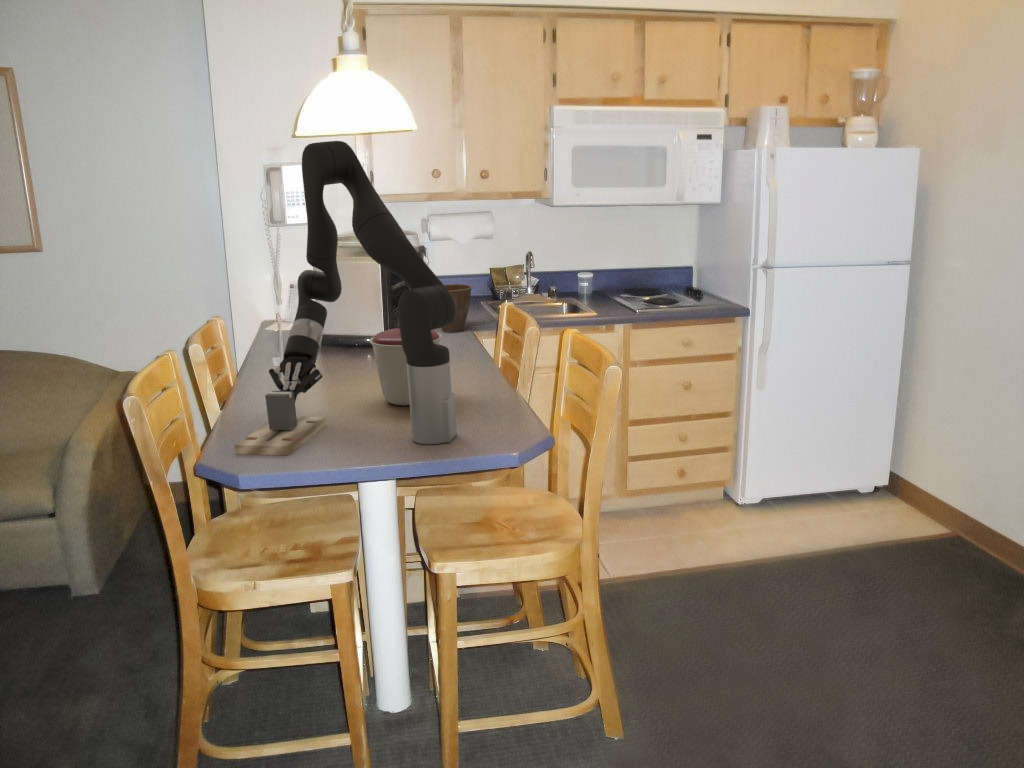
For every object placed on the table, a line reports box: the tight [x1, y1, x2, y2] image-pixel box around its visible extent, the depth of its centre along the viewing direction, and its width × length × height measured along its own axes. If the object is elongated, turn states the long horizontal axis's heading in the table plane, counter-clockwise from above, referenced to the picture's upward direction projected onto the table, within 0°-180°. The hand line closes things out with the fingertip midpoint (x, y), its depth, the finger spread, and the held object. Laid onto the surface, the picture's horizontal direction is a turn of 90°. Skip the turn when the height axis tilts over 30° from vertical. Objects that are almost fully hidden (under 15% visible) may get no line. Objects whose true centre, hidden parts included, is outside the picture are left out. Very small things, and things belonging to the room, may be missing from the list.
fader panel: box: [234, 415, 327, 456], centre depth 174 cm, size 12×20×2 cm, turn 170°
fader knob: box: [264, 390, 297, 430], centre depth 173 cm, size 5×4×8 cm
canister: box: [369, 322, 443, 407], centre depth 197 cm, size 18×18×21 cm
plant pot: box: [441, 283, 472, 334], centre depth 283 cm, size 15×15×16 cm
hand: (286, 407), depth 175 cm, fingers closed
